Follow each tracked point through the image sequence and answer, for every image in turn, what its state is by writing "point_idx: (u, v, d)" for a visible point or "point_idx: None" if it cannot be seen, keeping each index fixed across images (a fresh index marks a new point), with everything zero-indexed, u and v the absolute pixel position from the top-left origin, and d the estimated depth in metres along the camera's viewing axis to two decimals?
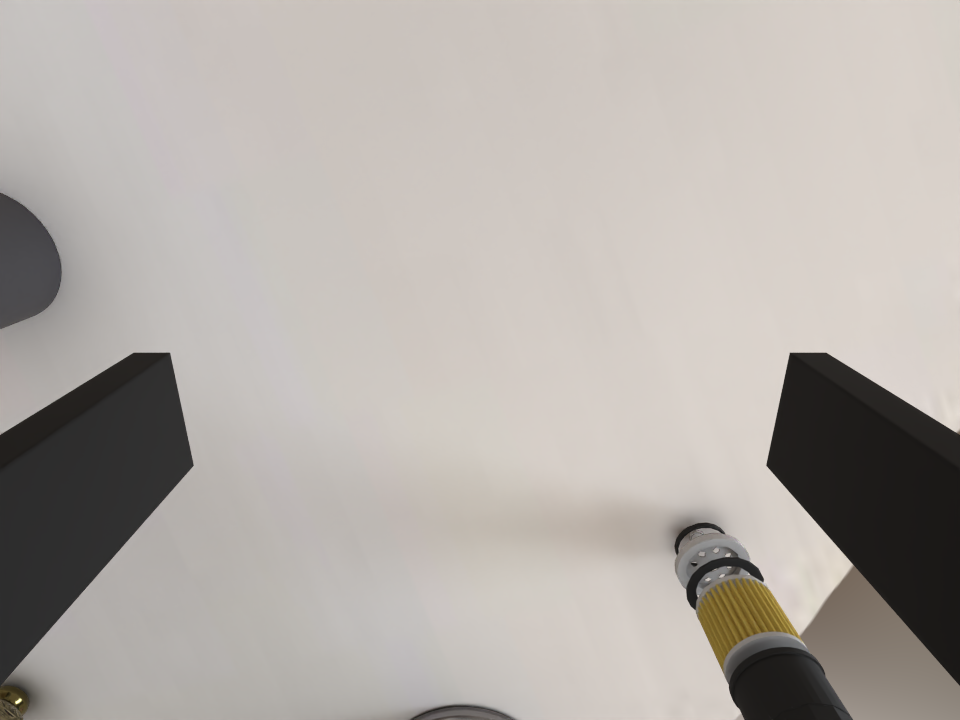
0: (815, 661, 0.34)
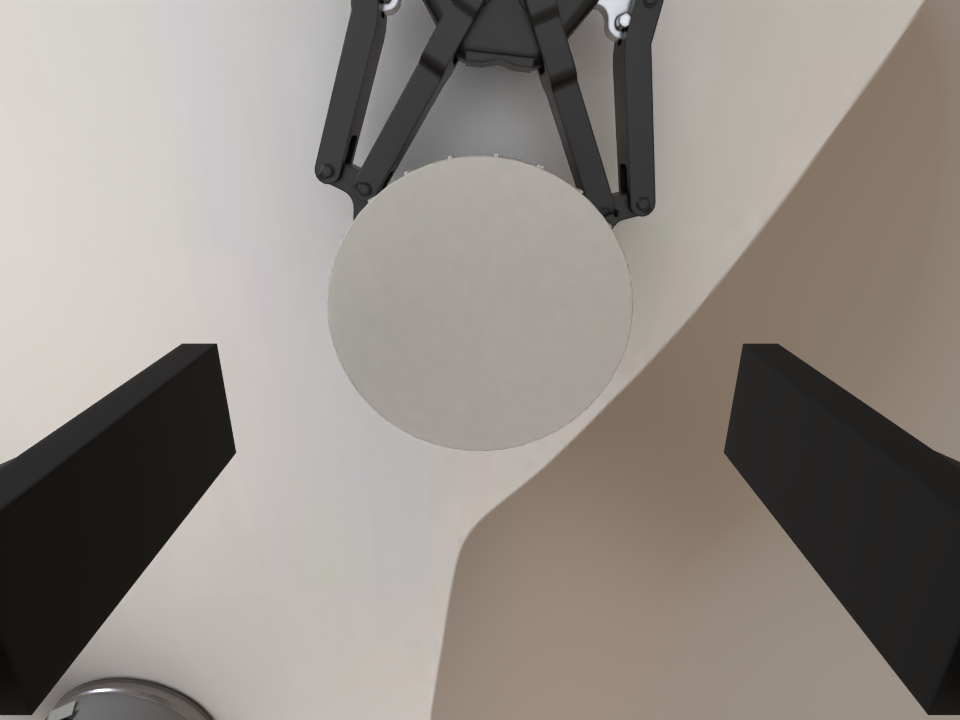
0: None
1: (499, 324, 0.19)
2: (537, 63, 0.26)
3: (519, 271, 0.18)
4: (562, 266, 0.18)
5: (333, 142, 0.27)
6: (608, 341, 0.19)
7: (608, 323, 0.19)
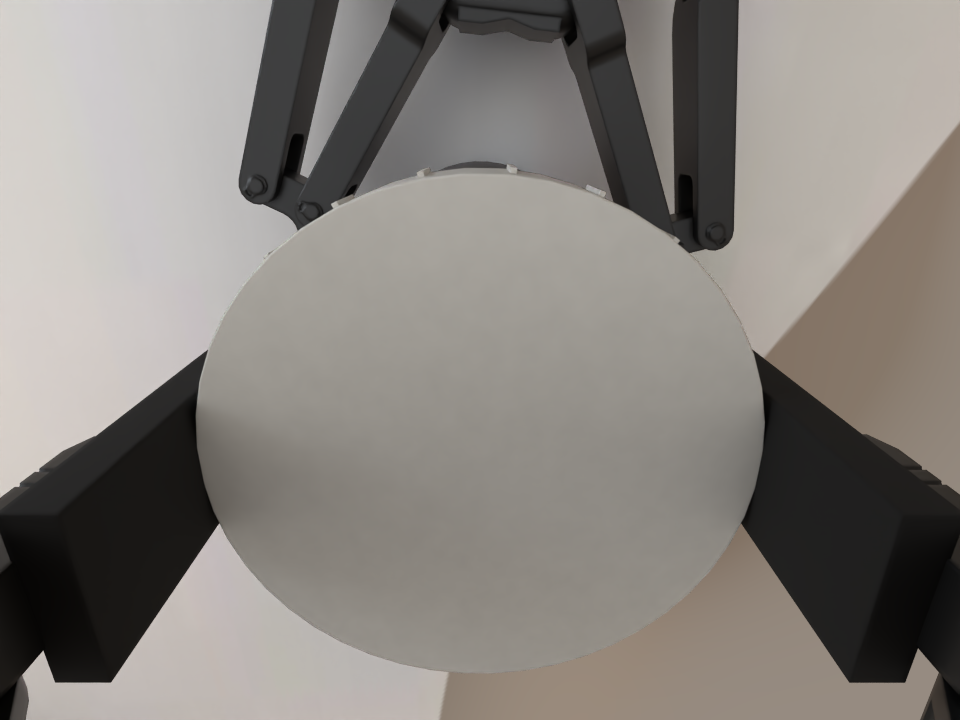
0: None
1: (515, 479, 0.10)
2: (565, 26, 0.17)
3: (555, 388, 0.10)
4: (636, 380, 0.10)
5: (264, 143, 0.18)
6: (714, 506, 0.10)
7: (716, 477, 0.10)
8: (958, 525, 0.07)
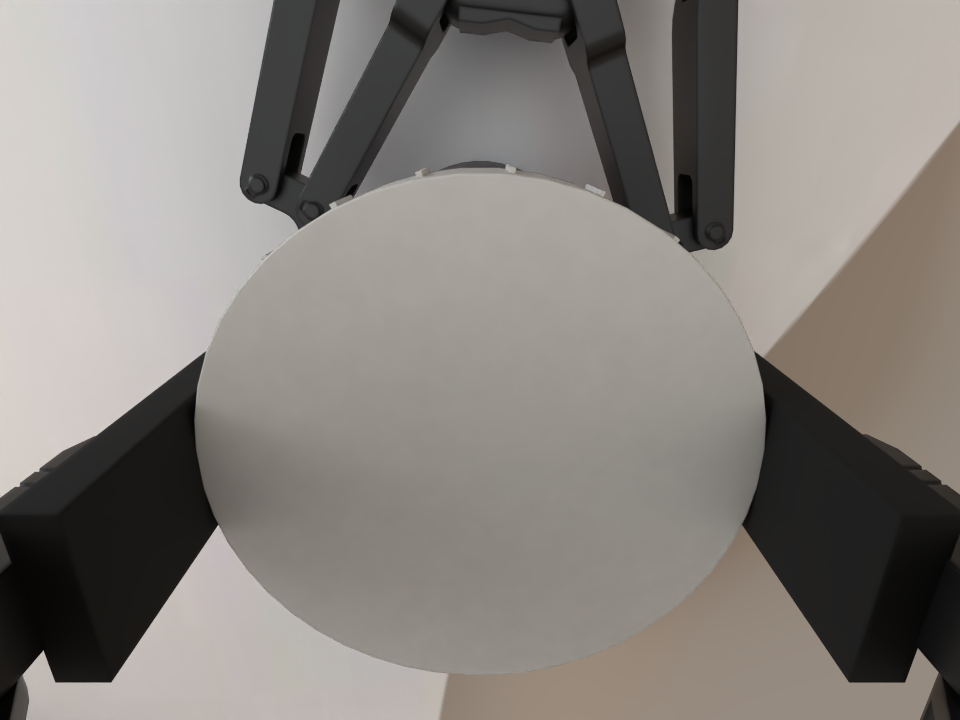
0: None
1: (487, 436, 0.10)
2: (566, 26, 0.17)
3: (379, 417, 0.10)
4: (352, 345, 0.09)
5: (265, 143, 0.18)
6: (492, 217, 0.09)
7: (451, 227, 0.09)
8: (958, 525, 0.07)
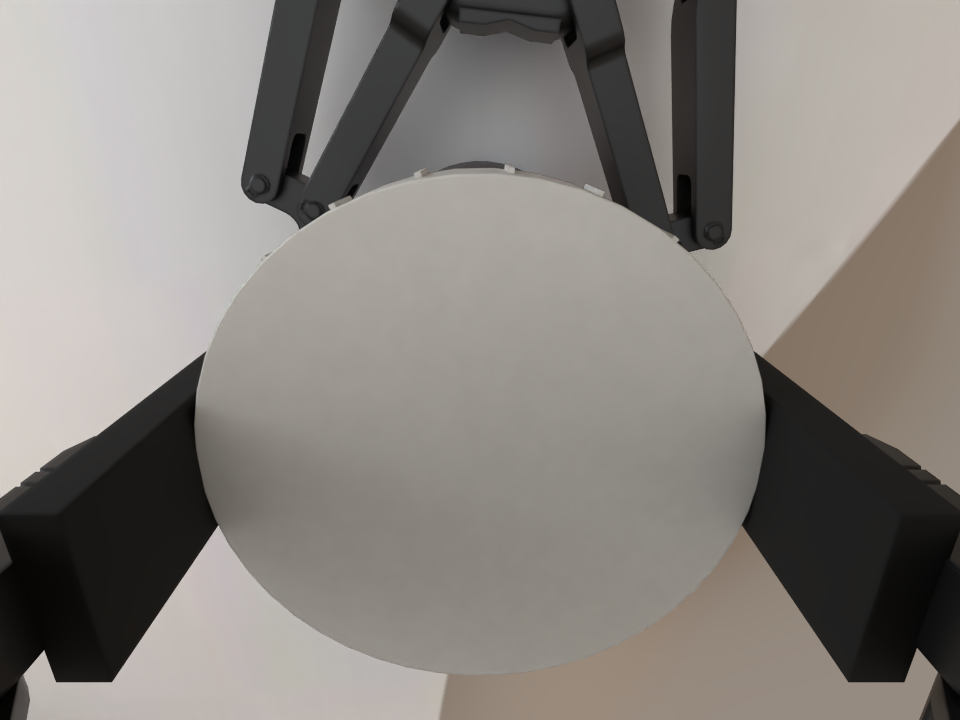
0: None
1: (441, 468, 0.10)
2: (565, 27, 0.17)
3: (439, 554, 0.11)
4: (375, 577, 0.11)
5: (266, 143, 0.18)
6: (239, 491, 0.10)
7: (256, 519, 0.10)
8: (957, 525, 0.07)
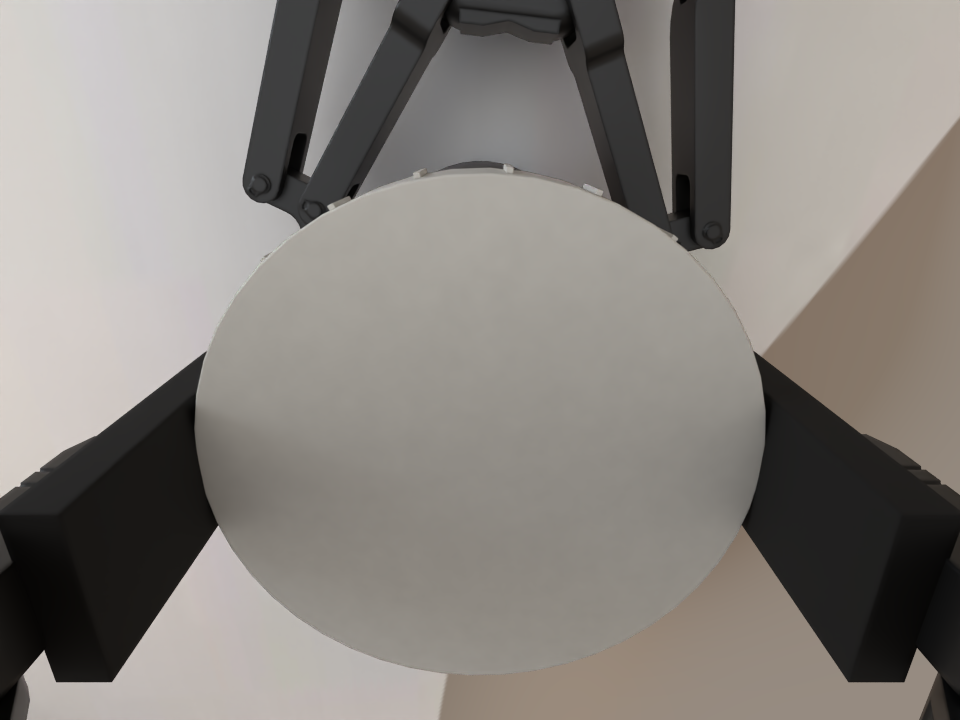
0: None
1: (484, 501, 0.10)
2: (565, 27, 0.18)
3: (588, 492, 0.10)
4: (621, 545, 0.11)
5: (268, 143, 0.18)
6: (533, 648, 0.12)
7: (560, 637, 0.12)
8: (957, 525, 0.07)
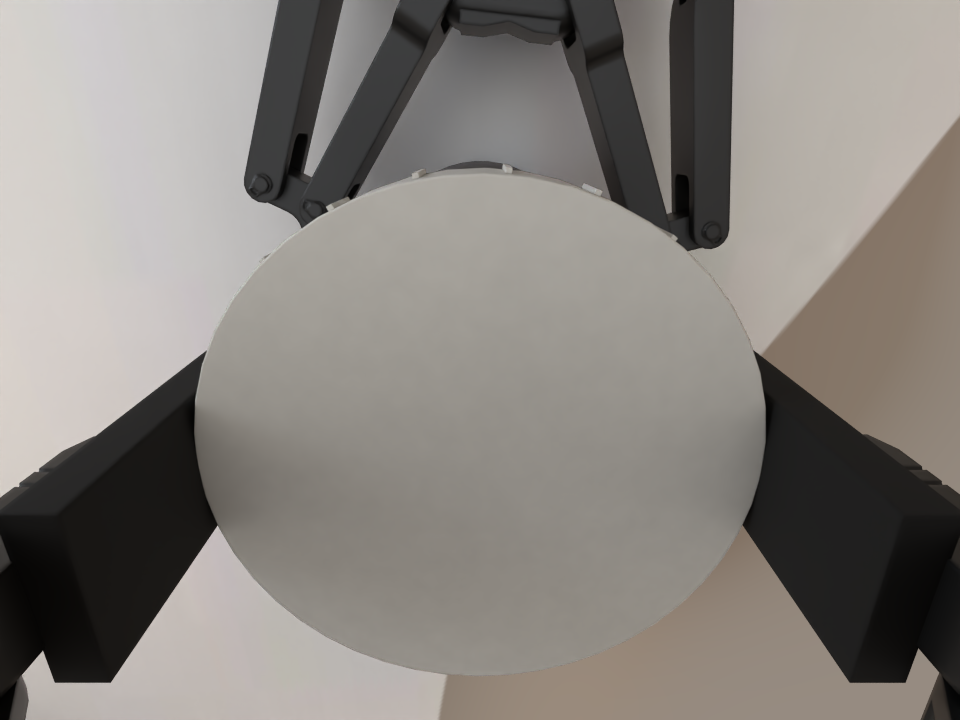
0: None
1: (517, 461, 0.10)
2: (565, 28, 0.18)
3: (492, 365, 0.09)
4: (558, 314, 0.09)
5: (269, 143, 0.19)
6: (721, 382, 0.09)
7: (702, 355, 0.09)
8: (958, 525, 0.07)
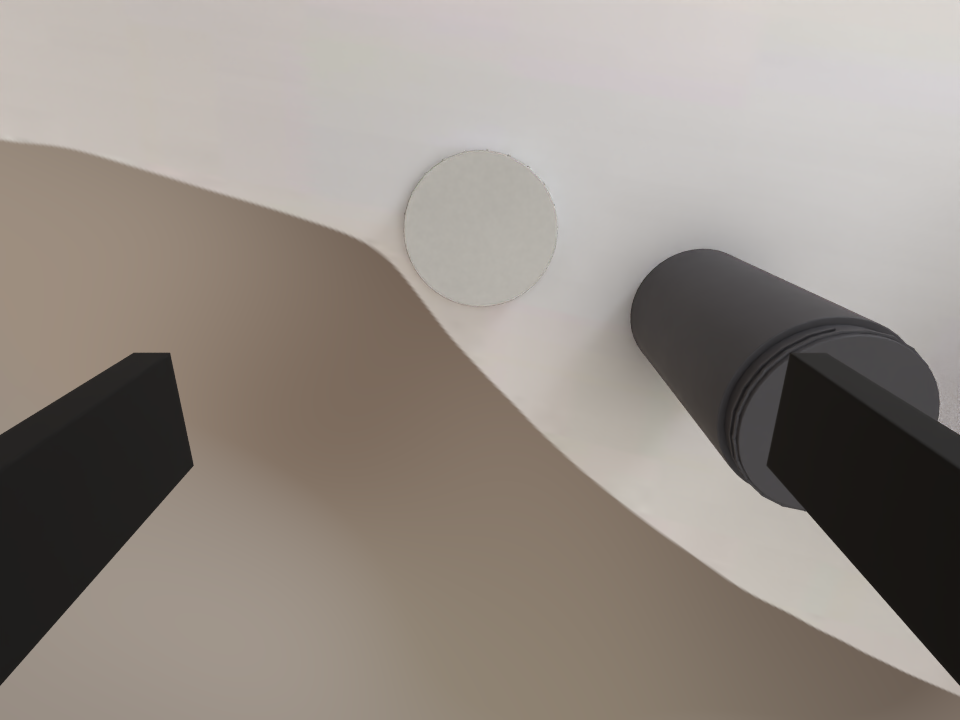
0: None
1: (490, 229, 0.37)
2: None
3: (483, 201, 0.36)
4: (500, 186, 0.36)
5: None
6: (543, 205, 0.37)
7: (537, 197, 0.36)
8: None
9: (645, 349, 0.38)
